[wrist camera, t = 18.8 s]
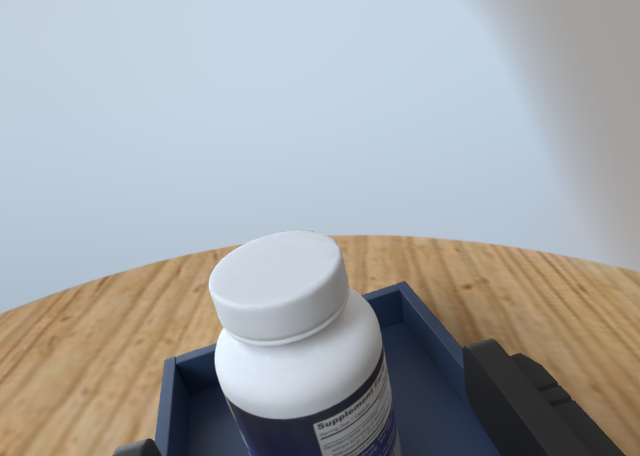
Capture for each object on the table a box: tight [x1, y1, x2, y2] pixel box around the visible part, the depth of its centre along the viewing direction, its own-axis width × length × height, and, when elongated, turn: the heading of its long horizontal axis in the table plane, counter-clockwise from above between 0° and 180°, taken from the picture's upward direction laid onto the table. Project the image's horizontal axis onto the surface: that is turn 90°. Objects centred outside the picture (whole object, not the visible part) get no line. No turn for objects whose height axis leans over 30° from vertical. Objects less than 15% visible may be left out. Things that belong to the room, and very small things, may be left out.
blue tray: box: [155, 281, 501, 456], centre depth 16 cm, size 13×14×3 cm
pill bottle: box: [209, 230, 402, 456], centre depth 14 cm, size 5×5×10 cm
